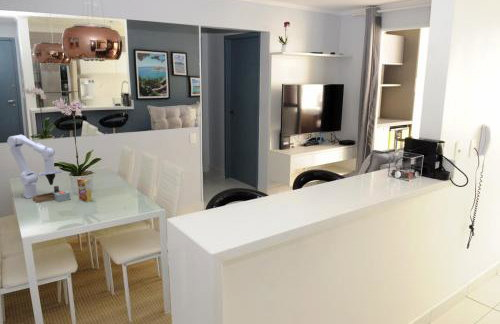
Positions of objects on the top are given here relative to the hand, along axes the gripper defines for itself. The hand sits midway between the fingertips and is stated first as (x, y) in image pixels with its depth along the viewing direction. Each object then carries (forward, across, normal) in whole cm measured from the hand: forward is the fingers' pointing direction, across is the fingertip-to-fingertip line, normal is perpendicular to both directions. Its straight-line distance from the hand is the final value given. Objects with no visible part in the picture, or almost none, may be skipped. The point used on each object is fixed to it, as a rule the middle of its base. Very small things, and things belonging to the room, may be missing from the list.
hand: (51, 184), depth 271 cm
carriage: (+9, +3, +1) cm, 9 cm away
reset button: (+8, +4, -8) cm, 12 cm away
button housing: (+10, +4, -8) cm, 13 cm away
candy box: (+10, +15, -20) cm, 27 cm away
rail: (+10, -2, 0) cm, 10 cm away
